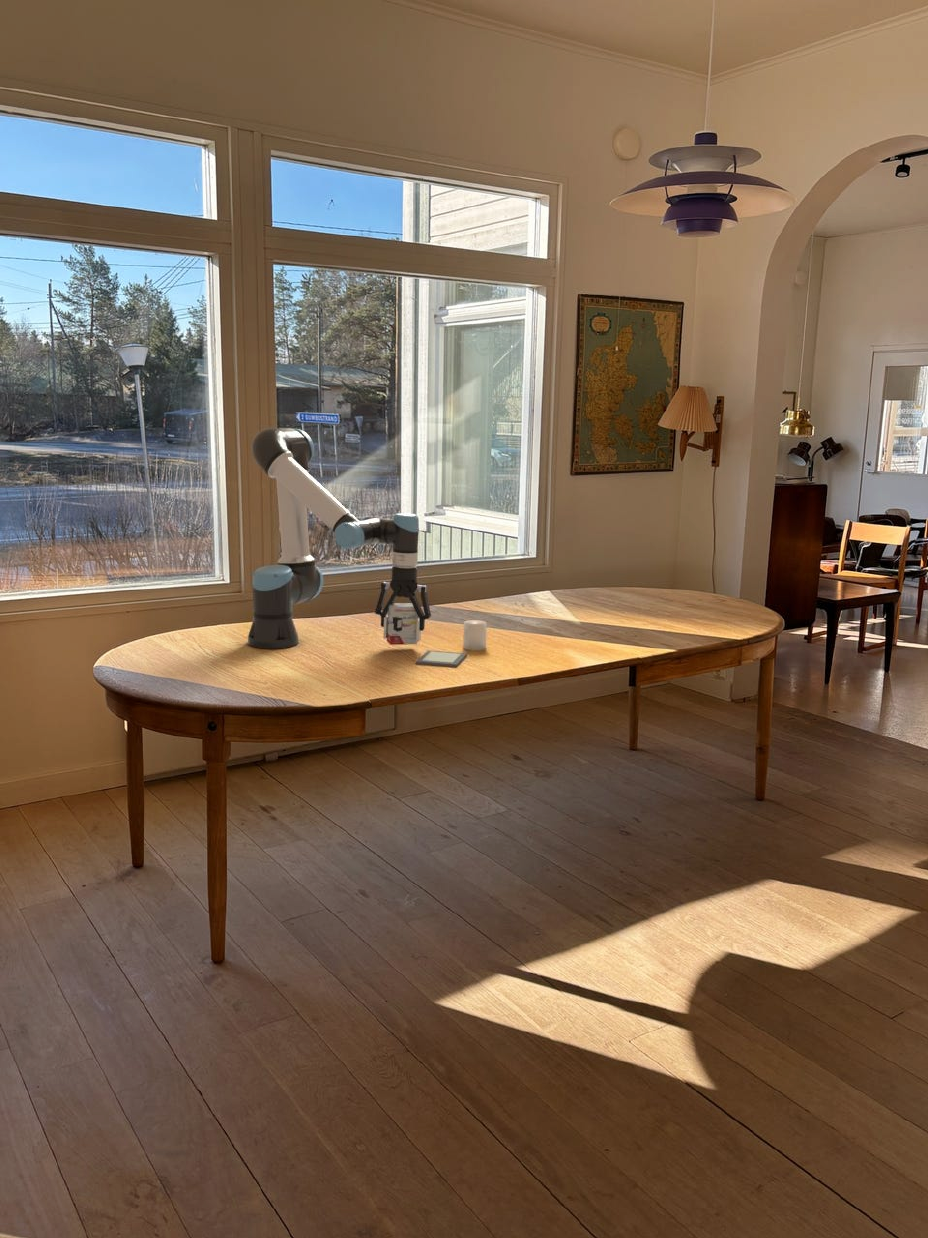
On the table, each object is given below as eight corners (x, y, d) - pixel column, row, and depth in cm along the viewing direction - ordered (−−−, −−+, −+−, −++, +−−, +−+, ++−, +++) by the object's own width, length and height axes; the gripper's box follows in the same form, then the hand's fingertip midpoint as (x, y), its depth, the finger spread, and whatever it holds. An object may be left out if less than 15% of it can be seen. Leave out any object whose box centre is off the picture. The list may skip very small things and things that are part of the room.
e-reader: (415, 664, 288) (415, 660, 288) (427, 653, 301) (427, 650, 301) (456, 667, 286) (456, 664, 285) (467, 656, 299) (467, 653, 299)
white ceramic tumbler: (460, 649, 307) (461, 624, 305) (465, 644, 314) (466, 619, 312) (483, 651, 306) (484, 625, 304) (487, 646, 312) (488, 621, 311)
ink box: (389, 645, 301) (390, 606, 299) (386, 641, 306) (387, 603, 304) (417, 644, 304) (419, 606, 301) (414, 640, 308) (415, 602, 306)
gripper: (365, 564, 299) (363, 638, 303) (437, 570, 294) (434, 645, 299) (372, 561, 306) (370, 633, 310) (443, 567, 301) (440, 639, 306)
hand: (402, 639), depth 305 cm, fingers closed on ink box, 9 cm apart
